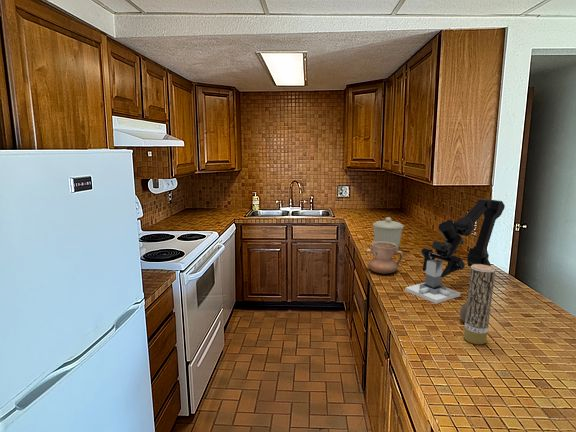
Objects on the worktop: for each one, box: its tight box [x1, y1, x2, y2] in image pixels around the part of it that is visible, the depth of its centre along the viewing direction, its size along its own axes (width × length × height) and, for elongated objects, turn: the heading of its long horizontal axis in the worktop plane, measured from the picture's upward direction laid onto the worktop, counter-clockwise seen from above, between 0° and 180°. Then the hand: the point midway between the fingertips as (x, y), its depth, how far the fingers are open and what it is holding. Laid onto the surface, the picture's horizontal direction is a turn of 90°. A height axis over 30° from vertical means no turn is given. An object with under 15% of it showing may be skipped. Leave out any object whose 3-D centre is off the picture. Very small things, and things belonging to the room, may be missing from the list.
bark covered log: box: [463, 264, 496, 345], centre depth 123 cm, size 7×7×25 cm
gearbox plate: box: [404, 281, 462, 305], centre depth 164 cm, size 16×16×4 cm
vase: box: [459, 301, 467, 324], centre depth 137 cm, size 7×7×9 cm
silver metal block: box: [424, 258, 444, 290], centre depth 163 cm, size 5×5×13 cm
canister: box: [372, 216, 405, 251], centre depth 228 cm, size 18×18×21 cm
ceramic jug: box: [366, 241, 404, 275], centre depth 191 cm, size 18×14×14 cm
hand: (432, 273), depth 162 cm, fingers open, 9 cm apart
